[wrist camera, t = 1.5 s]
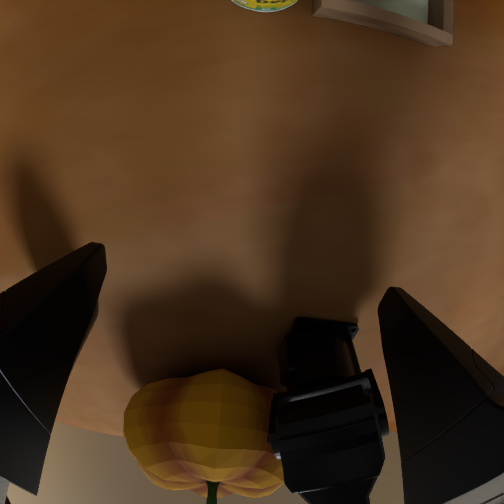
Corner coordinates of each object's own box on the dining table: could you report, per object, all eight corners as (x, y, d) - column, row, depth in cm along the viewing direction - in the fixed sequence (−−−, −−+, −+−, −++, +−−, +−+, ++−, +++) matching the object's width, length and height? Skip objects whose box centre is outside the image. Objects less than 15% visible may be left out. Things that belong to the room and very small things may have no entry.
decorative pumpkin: (322, 413, 38) (334, 509, 26) (186, 434, 43) (177, 516, 30) (276, 325, 28) (287, 483, 15) (102, 364, 33) (68, 472, 20)
